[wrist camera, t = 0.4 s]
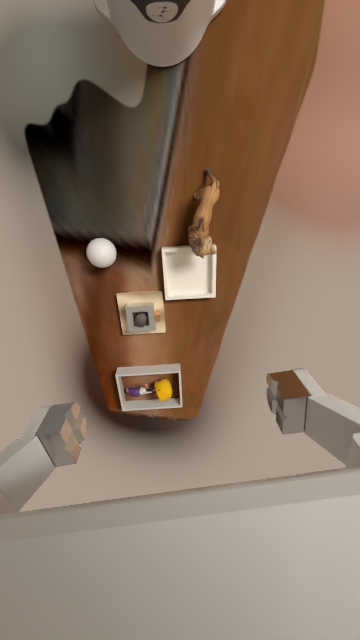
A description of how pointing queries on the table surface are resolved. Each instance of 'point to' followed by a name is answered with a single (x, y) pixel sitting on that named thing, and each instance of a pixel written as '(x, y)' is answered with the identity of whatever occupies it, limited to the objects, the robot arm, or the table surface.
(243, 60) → the table surface
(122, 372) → the figure corral
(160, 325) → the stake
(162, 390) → the character figure
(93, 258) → the white egg
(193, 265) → the tray
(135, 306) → the ring
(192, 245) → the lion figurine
